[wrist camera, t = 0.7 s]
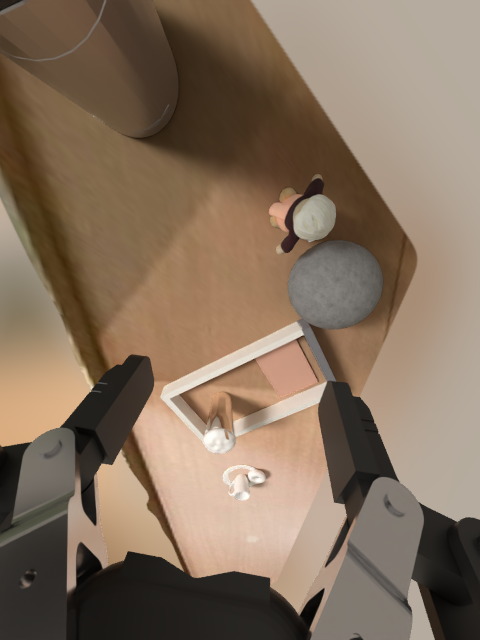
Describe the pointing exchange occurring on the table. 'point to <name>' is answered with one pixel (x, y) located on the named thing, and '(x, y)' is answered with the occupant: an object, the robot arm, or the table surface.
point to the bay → (278, 366)
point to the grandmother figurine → (303, 214)
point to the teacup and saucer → (243, 481)
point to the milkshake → (220, 425)
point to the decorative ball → (335, 284)
